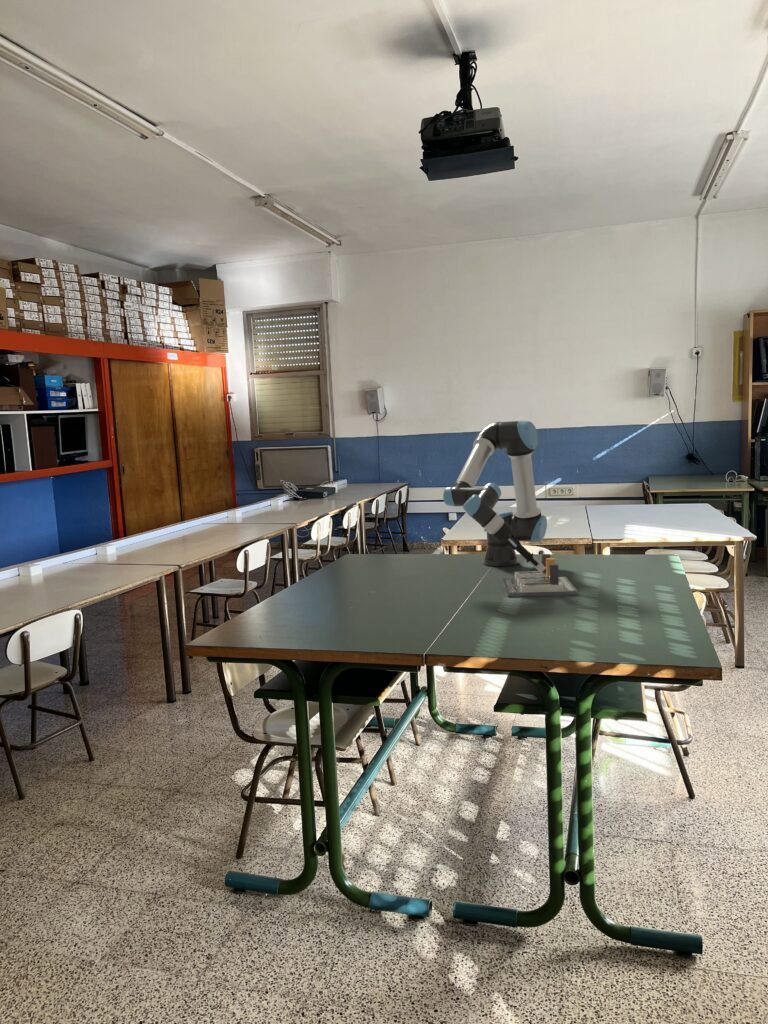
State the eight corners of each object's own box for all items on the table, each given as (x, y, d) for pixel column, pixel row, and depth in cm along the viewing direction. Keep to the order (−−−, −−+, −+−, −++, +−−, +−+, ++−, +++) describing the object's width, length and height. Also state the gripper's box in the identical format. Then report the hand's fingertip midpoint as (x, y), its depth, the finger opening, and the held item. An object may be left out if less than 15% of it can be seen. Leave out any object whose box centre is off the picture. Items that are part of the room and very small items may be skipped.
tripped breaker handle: (546, 576, 286) (545, 558, 285) (554, 576, 285) (553, 558, 284) (547, 577, 283) (546, 559, 282) (555, 577, 283) (554, 559, 282)
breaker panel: (502, 582, 298) (501, 554, 297) (565, 580, 296) (565, 553, 295) (507, 596, 274) (507, 567, 272) (577, 595, 272) (577, 565, 270)
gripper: (489, 532, 290) (534, 573, 291) (492, 537, 277) (538, 581, 278) (503, 518, 289) (547, 560, 290) (506, 523, 276) (552, 566, 277)
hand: (543, 570), depth 284 cm, fingers closed
